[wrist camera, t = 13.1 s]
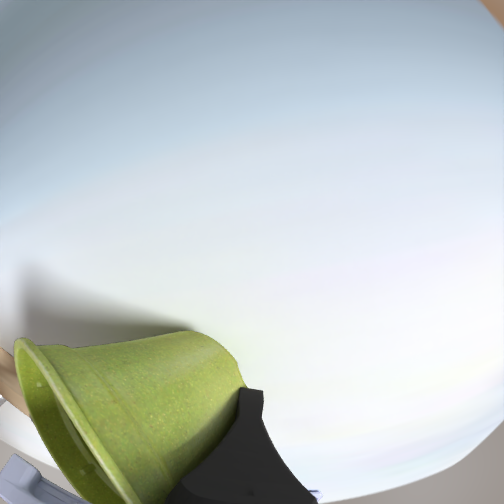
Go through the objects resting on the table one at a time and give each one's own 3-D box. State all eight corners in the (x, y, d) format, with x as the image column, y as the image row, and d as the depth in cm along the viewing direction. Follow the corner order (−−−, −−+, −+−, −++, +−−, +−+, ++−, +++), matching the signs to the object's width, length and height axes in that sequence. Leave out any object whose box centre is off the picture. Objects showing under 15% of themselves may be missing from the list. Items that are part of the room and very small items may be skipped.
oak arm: (78, 398, 17) (57, 425, 14) (80, 419, 18) (62, 446, 14) (-14, 333, 17) (-38, 349, 13) (-10, 357, 17) (-30, 373, 14)
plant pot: (153, 269, 15) (0, 293, 8) (313, 349, 11) (148, 498, 4) (142, 393, 17) (38, 439, 10) (256, 473, 13) (155, 566, 6)
